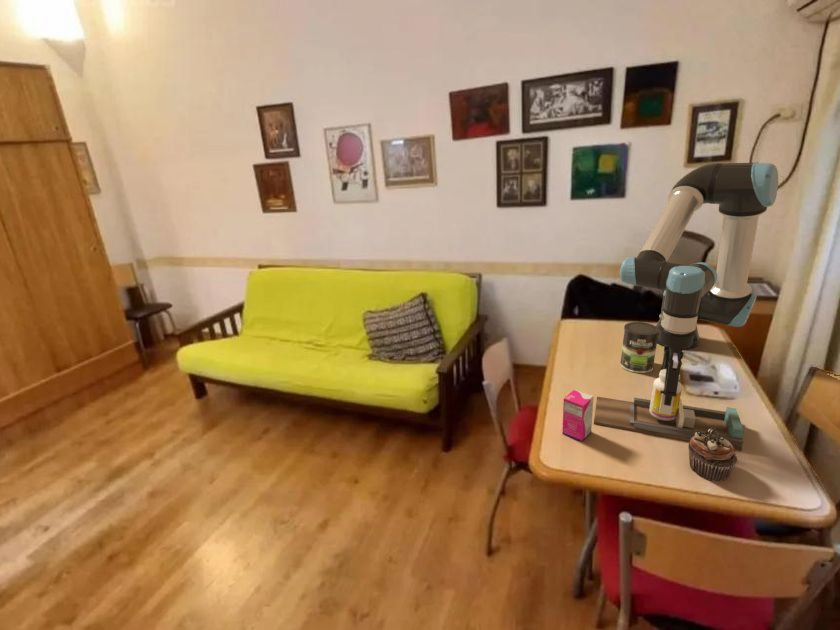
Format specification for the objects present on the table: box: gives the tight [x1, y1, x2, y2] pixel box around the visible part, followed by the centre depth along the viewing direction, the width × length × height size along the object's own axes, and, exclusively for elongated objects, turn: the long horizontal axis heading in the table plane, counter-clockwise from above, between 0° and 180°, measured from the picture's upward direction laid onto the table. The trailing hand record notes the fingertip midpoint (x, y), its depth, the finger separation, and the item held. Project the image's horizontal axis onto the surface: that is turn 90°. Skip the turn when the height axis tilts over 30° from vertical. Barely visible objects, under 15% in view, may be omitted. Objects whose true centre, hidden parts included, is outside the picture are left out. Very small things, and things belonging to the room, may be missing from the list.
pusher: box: [675, 397, 696, 428], centre depth 116 cm, size 9×4×5 cm, turn 156°
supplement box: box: [561, 389, 594, 443], centre depth 116 cm, size 6×6×12 cm
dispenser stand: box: [593, 396, 745, 452], centre depth 119 cm, size 13×34×5 cm, turn 66°
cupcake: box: [688, 428, 738, 482], centre depth 101 cm, size 10×10×10 cm
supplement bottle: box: [649, 369, 683, 421], centre depth 116 cm, size 7×7×13 cm
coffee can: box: [619, 321, 659, 374], centre depth 145 cm, size 10×10×14 cm
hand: (664, 405), depth 118 cm, fingers closed on supplement bottle, 7 cm apart
